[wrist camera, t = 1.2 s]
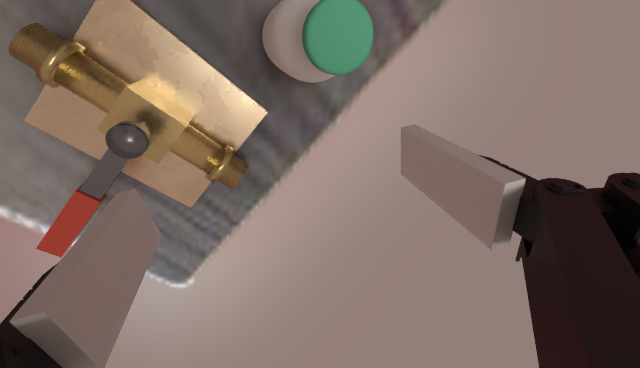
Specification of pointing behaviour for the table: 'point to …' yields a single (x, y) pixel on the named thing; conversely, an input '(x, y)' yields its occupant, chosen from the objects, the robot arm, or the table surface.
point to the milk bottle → (317, 37)
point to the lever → (96, 185)
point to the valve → (140, 98)
